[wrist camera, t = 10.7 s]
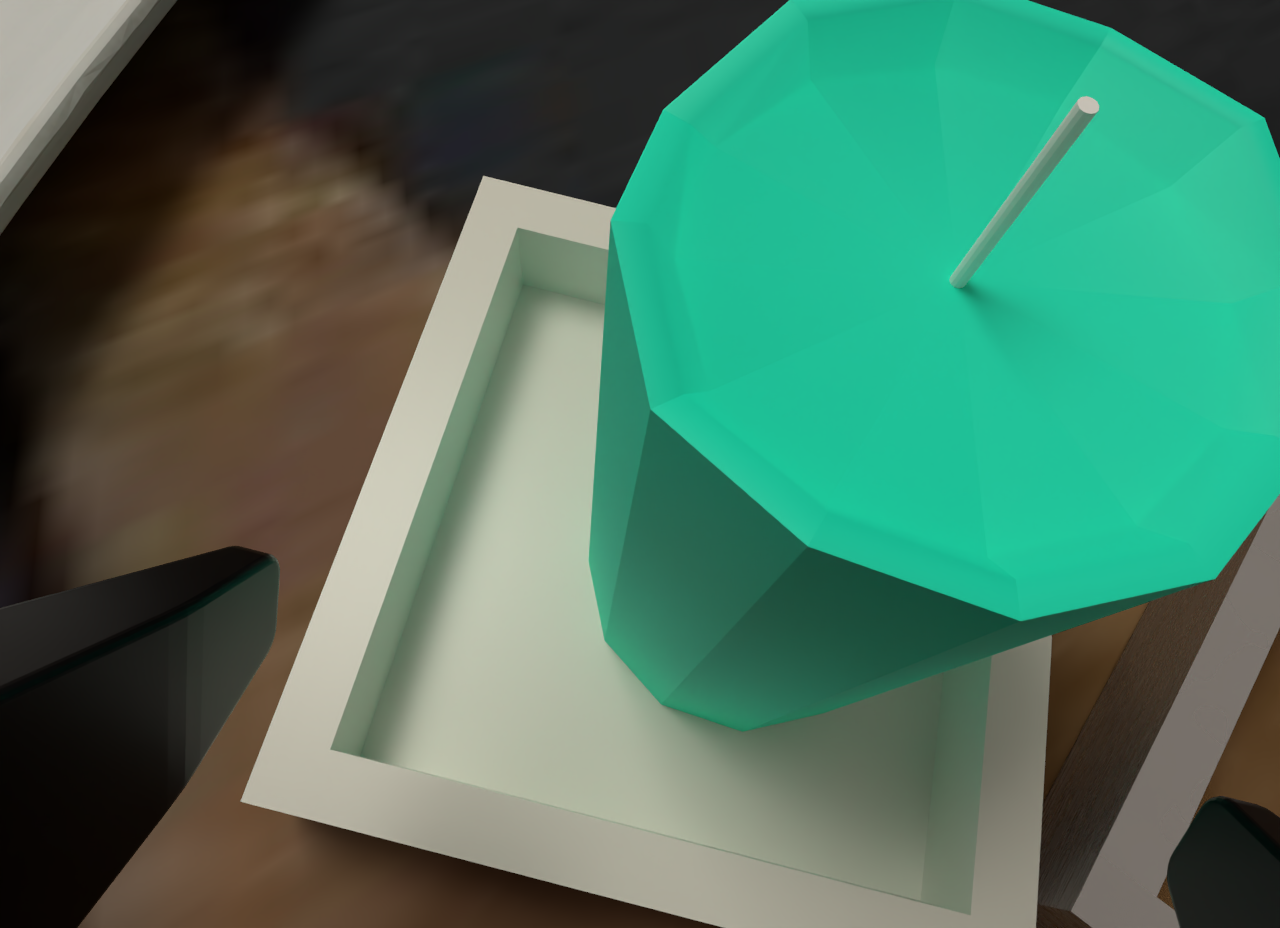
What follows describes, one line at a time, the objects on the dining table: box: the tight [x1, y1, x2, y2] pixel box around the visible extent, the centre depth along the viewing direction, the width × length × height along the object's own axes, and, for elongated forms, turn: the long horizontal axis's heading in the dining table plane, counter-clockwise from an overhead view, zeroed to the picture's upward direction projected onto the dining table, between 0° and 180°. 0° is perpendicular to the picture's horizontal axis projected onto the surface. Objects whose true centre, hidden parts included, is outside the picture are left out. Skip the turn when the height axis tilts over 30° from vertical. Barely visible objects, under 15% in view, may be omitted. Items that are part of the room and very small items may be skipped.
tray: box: [241, 176, 1052, 928], centre depth 16 cm, size 12×12×2 cm
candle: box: [588, 0, 1280, 732], centre depth 11 cm, size 6×6×12 cm
